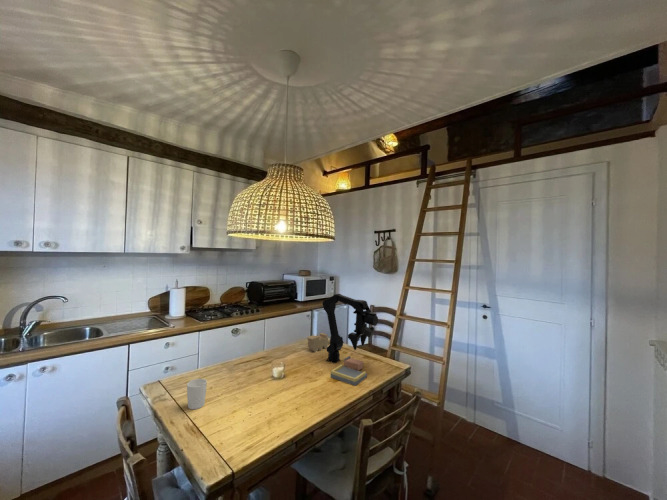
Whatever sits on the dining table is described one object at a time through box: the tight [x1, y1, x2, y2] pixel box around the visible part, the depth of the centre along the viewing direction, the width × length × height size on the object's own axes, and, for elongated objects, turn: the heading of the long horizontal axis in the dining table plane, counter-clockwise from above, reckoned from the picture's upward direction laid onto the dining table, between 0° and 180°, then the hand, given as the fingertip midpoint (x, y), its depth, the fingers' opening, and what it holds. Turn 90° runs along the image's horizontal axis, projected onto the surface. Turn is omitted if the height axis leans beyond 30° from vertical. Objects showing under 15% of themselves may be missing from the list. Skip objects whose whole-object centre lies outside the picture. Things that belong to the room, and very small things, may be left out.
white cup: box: [186, 378, 208, 410], centre depth 123 cm, size 8×8×10 cm
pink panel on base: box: [343, 355, 364, 371], centre depth 168 cm, size 10×6×5 cm, turn 56°
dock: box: [330, 364, 368, 387], centre depth 156 cm, size 16×13×4 cm
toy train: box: [306, 332, 330, 353], centre depth 198 cm, size 6×17×10 cm, turn 137°
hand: (359, 347), depth 167 cm, fingers open, 9 cm apart
